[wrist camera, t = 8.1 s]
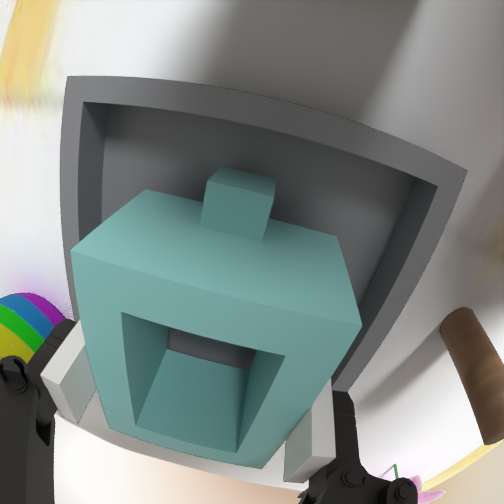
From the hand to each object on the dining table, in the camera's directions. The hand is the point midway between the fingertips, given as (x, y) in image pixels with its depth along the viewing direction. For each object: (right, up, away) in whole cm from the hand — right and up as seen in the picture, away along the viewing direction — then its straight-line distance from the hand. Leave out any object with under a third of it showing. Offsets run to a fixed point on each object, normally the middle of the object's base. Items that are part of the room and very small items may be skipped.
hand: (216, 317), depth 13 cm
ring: (0, 0, 0) cm, 0 cm away
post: (+14, -1, +2) cm, 14 cm away
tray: (0, +2, +2) cm, 3 cm away
